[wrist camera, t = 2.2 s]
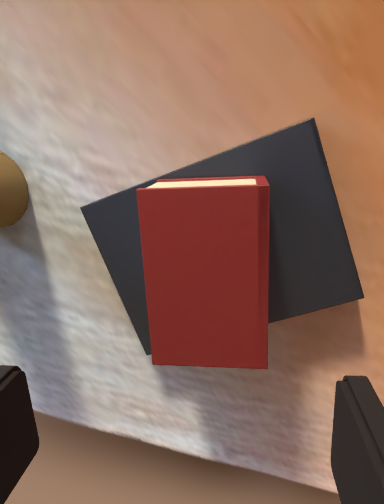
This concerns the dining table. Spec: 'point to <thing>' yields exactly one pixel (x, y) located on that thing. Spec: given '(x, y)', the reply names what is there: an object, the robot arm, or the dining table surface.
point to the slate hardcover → (280, 227)
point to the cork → (11, 192)
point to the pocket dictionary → (207, 270)
